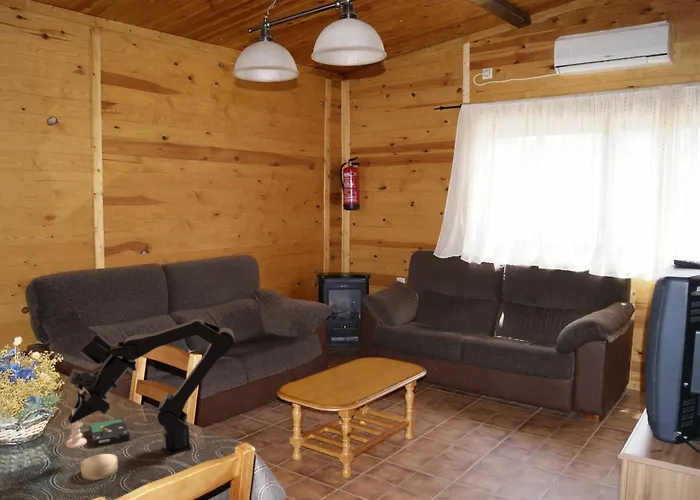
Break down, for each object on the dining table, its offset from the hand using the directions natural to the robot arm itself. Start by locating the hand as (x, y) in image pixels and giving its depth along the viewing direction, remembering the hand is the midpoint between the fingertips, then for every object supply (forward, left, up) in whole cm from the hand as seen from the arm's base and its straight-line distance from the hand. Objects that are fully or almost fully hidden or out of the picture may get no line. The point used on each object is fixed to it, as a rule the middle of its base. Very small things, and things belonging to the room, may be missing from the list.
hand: (69, 421), depth 166 cm
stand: (-5, +9, -12) cm, 16 cm away
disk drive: (-13, -16, -13) cm, 24 cm away
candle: (-1, -1, -7) cm, 7 cm away
